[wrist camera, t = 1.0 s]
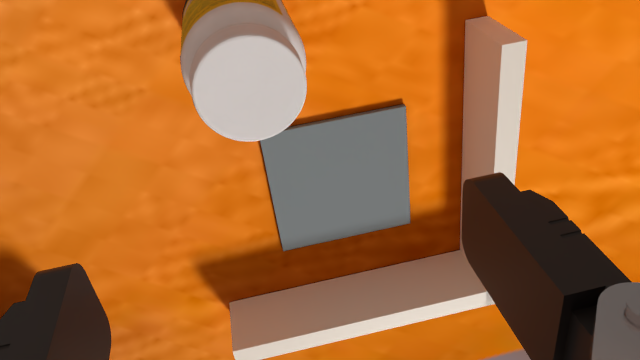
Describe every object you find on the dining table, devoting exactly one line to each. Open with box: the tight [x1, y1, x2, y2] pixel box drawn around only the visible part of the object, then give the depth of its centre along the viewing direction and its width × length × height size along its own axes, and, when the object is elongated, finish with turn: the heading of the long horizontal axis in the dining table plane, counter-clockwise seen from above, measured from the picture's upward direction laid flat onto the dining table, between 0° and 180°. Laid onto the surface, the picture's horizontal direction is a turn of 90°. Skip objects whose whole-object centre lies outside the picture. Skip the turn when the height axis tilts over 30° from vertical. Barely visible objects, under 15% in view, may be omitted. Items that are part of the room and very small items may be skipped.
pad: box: [260, 104, 410, 251], centre depth 31 cm, size 8×8×1 cm
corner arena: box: [229, 16, 527, 360], centre depth 30 cm, size 17×17×4 cm
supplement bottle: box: [180, 0, 307, 141], centre depth 22 cm, size 5×5×8 cm
